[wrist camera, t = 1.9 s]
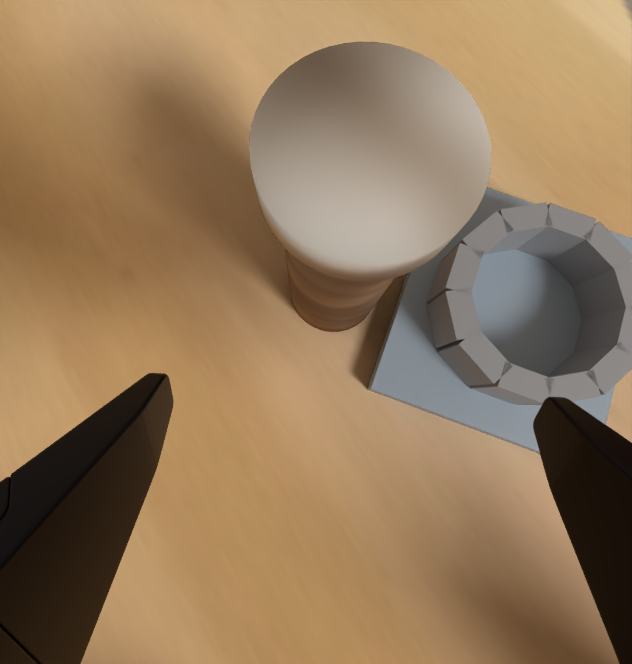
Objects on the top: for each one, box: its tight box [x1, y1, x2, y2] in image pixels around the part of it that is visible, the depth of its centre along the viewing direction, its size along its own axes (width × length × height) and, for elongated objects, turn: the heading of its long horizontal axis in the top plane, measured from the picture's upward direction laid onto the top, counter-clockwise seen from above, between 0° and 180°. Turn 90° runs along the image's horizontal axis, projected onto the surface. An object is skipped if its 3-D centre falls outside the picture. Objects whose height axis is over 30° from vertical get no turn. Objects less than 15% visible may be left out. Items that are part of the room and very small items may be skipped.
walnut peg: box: [249, 42, 491, 332], centre depth 16 cm, size 6×6×13 cm
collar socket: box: [368, 187, 632, 454], centre depth 21 cm, size 13×12×4 cm
